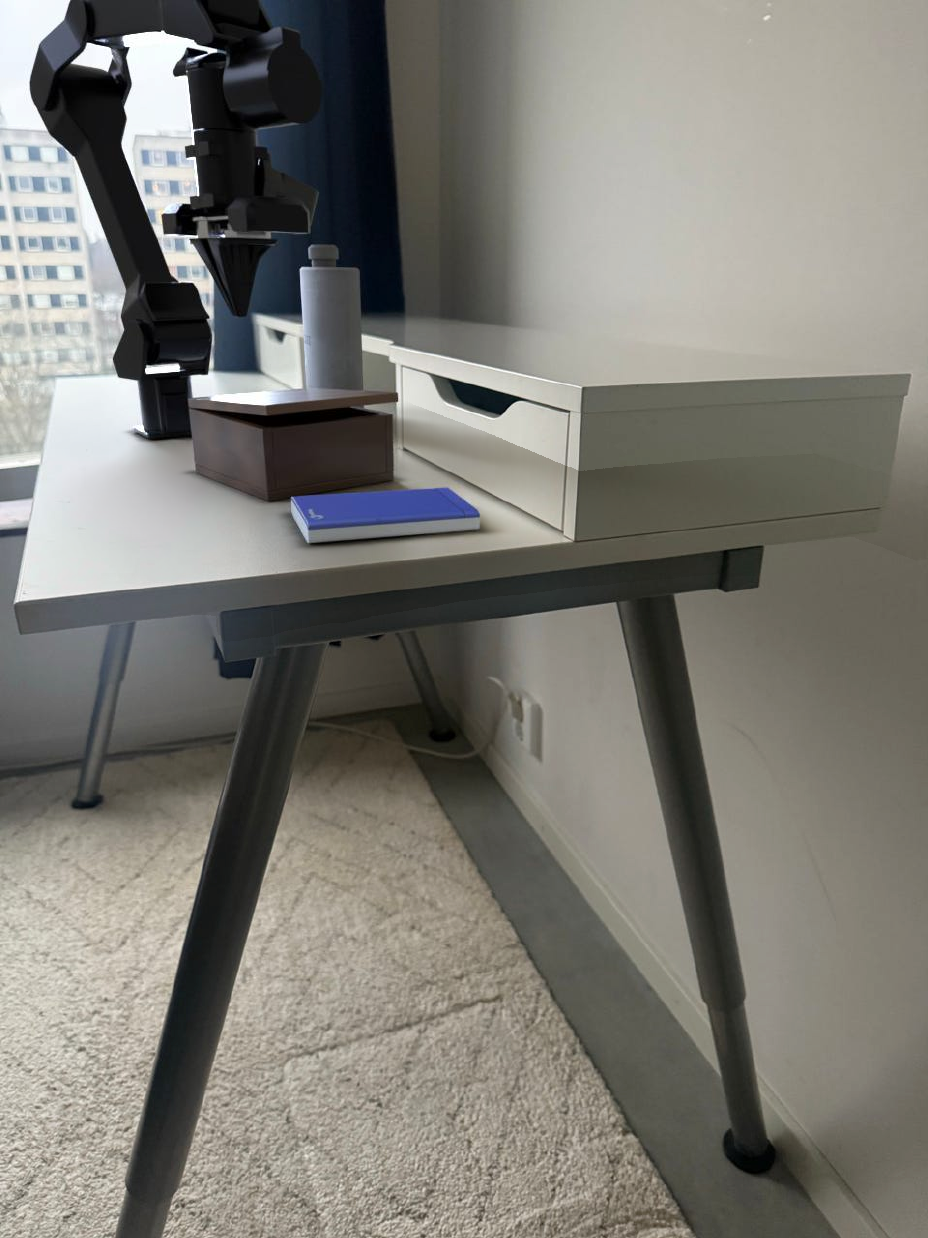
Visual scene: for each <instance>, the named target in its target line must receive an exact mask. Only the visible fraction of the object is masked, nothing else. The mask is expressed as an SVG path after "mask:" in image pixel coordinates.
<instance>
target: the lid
mask: <svg viewBox="0 0 928 1238" xmlns="http://www.w3.org/2000/svg"><path fill="white" fill-rule="evenodd" d="M391 403H399V392H396V391H379V390H378V391H377V390H363V391H361V390H342V389H323V388H307V387H303V388H292V389H281V390H279V389H278V390H269V391H268V390H267V391H258V392H247V393H246V392H245V393H233V394H223V395H209V396H199V397H193V398H188V404H189V407H190V408H200V409H209V410H219V411H228V412H238V413H247V414H257V415H266V416H268V415H278V414H287V413H297V412H307V411H316V410H326V409H335V408H345V407H354V406H364V407H365V406H372V405H381V404H382V405H383V404H391Z"/></svg>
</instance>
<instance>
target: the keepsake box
mask: <svg viewBox="0 0 928 1238" xmlns="http://www.w3.org/2000/svg"><path fill="white" fill-rule="evenodd" d="M189 413H190V422H191V432H192V435H191V439H192V449H193V459H194V467H195V473H197V474H199V475H203V476H205V477H207V478H209V479H212V480H215V481H216V482H219V483H222V484H225V485H226V486H230V487H232V488H235V489H236V490H239V491H242V492H244V493H246V494H249V495H252V496H254V497H257V498H259V499H261V500H264V501H266V502H274V501H277V500H278V501H279V500H284V499H291V497H296V496H310V495H315V494H319V493H326V492H331V491H336V490H343V489H347V488H348V489H349V488H354V487H361V486H367V485H371V484H378V483H383V482H389V481H393V480H395V462H394V458H395V456H394V414H392V413H388V412H384V411H378V410H374V409H369V408H365V407H364V408H360V407H356V406H354V407H345V408H335V409H326V410H316V411H307V412H297V413H287V414H278V415H268V416H266V415H257V414H247V413H238V412H228V411H219V410H209V409H200V408H189Z"/></svg>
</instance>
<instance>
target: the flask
mask: <svg viewBox="0 0 928 1238" xmlns="http://www.w3.org/2000/svg"><path fill="white" fill-rule="evenodd" d="M339 257H340V256H339V248H338V246H336V244H311V245H310V246H309V247H308V259H309V260H311V266H301V268H299V279H300V283H299V284H300V298H301V315H302V316H301V317H302V331H303V332H302V334H303V350H304V352H303V353H304V366H305V367H304V368H305V385H306V387H305V388H323V389H342V390H361V391H364V367H363V366H364V364H363V339H362V338H363V335H362V333H363V332H362V307H361V306H362V305H361V277H360V274H361V273H360V269H359V268H357V267H347V266H346V267H342V266H341V267H340V266H339V267H337V260H339V259H340V258H339ZM356 407H360V408H365V405H364V406H356Z"/></svg>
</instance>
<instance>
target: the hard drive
mask: <svg viewBox="0 0 928 1238" xmlns="http://www.w3.org/2000/svg"><path fill="white" fill-rule="evenodd" d="M290 509H291V510H290V511H291V515H292V518H293V520H294V521H295V523H296V525H297V526H298V528H299V530H300V532H301V534H302V536H303V538H304V539H305V541H306V543H307V544H318V543H328V542H340V541H353V540H354V541H355V540H364V539H375V538H376V539H377V538H388V537H389V538H390V537H401V536H412V535H423V534H435V533H436V534H437V533H448V532H449V533H450V532H462V531H473V530H479V529H481V513H480V511H479V510H478V508H476V507H475V506H473V505H472V504H471V503H469V502H468V501H467V500H466V499H464V498H463V497H462V496H460V495H459V494H458V493H456V492H455V491H454V490H452V489H450V488H449V487H448V486H444V487H433V488H416V489H413V488H412V489H399V490H398V489H397V490H381V491H364V492H347V493H346V492H345V493H331V494H330V493H329V494H316V495H315V494H310V495H303V496H296V497H291V498H290Z"/></svg>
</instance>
